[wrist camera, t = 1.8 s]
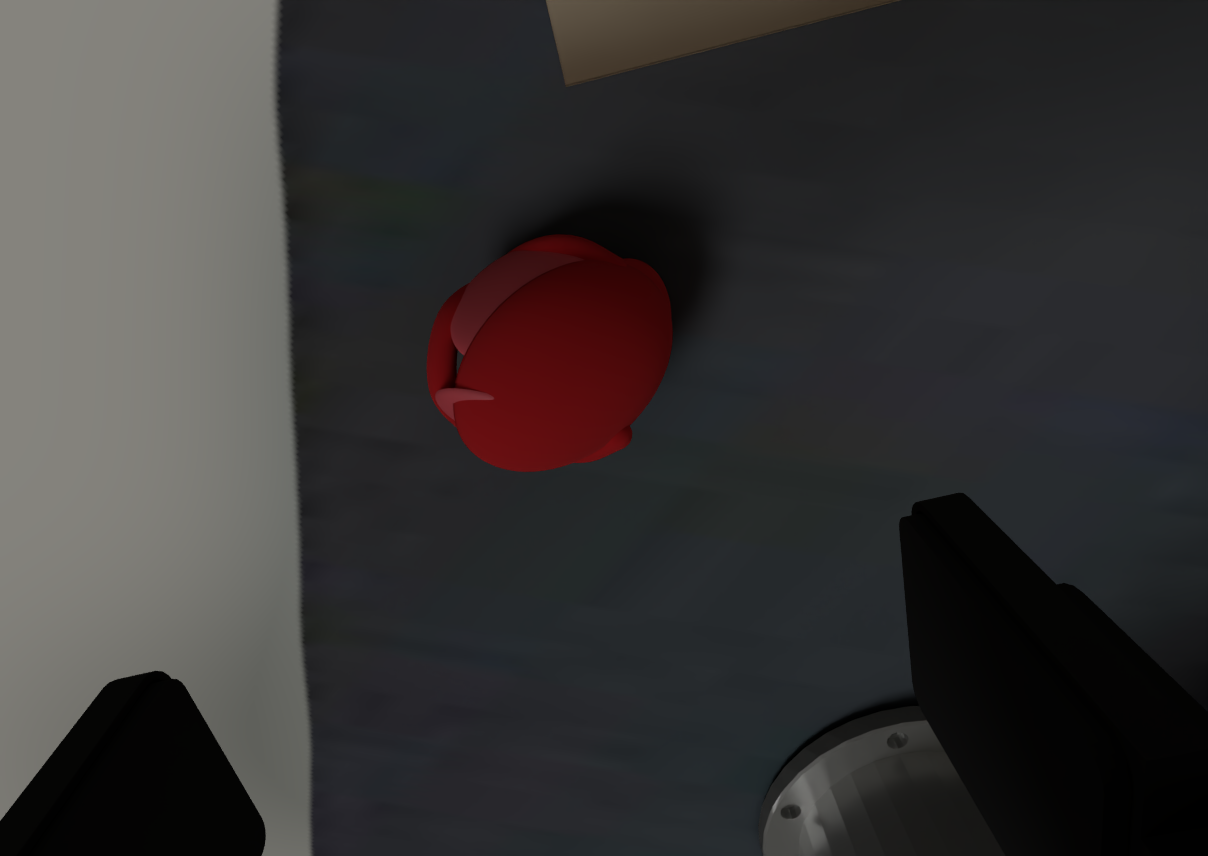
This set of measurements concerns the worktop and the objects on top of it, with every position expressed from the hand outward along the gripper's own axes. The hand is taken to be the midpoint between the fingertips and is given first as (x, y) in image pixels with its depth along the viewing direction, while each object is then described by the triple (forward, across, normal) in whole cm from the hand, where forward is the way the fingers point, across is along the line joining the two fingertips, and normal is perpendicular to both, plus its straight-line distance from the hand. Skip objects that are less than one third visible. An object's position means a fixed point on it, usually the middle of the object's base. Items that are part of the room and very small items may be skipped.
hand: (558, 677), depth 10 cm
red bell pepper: (+17, 0, 0) cm, 17 cm away
